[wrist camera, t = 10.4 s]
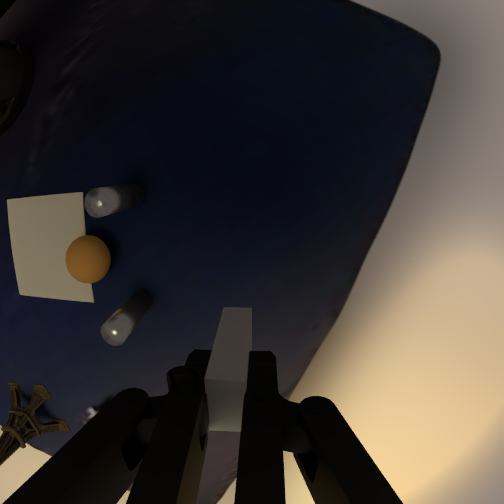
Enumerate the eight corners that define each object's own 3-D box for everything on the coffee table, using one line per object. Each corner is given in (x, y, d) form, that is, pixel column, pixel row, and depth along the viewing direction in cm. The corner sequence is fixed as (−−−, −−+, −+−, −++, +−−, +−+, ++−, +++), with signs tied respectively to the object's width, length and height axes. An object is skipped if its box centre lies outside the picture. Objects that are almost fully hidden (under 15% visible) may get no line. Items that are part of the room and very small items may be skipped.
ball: (102, 228, 36) (60, 235, 33) (112, 236, 32) (64, 244, 29) (107, 271, 38) (67, 279, 34) (118, 284, 33) (72, 294, 30)
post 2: (131, 289, 37) (98, 321, 28) (151, 290, 37) (122, 323, 28) (134, 309, 37) (103, 344, 29) (153, 310, 37) (126, 347, 29)
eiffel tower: (70, 430, 44) (11, 525, 20) (34, 424, 45) (-25, 504, 21) (44, 385, 42) (-35, 479, 18) (9, 381, 43) (-64, 458, 18)
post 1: (124, 183, 34) (84, 188, 25) (144, 182, 34) (108, 187, 25) (124, 206, 34) (85, 218, 26) (145, 206, 34) (110, 217, 26)
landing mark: (7, 199, 34) (7, 199, 34) (83, 192, 34) (82, 192, 34) (20, 294, 38) (19, 294, 38) (94, 301, 37) (93, 302, 37)
